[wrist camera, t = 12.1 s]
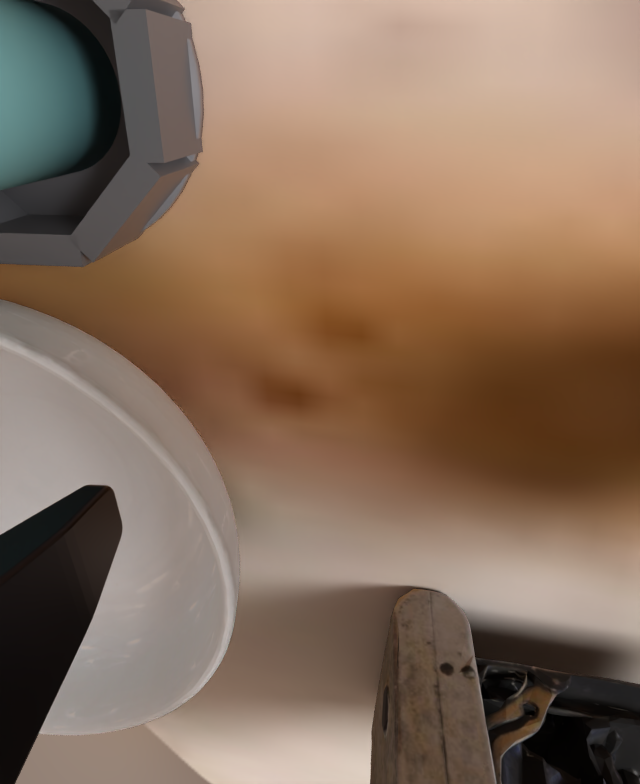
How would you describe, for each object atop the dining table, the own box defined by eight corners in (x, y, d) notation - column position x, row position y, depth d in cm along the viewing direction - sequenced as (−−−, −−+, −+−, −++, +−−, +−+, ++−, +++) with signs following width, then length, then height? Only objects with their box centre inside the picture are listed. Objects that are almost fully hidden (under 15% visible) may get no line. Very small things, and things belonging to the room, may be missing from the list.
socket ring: (185, -118, 16) (132, -167, 13) (216, 249, 21) (184, 276, 18) (-143, -102, 17) (-261, -144, 14) (-40, 241, 22) (-113, 264, 19)
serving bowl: (173, 667, 33) (121, 795, 27) (-175, 502, 30) (-317, 603, 24) (357, 411, 23) (341, 522, 17) (-129, 136, 21) (-348, 154, 15)
